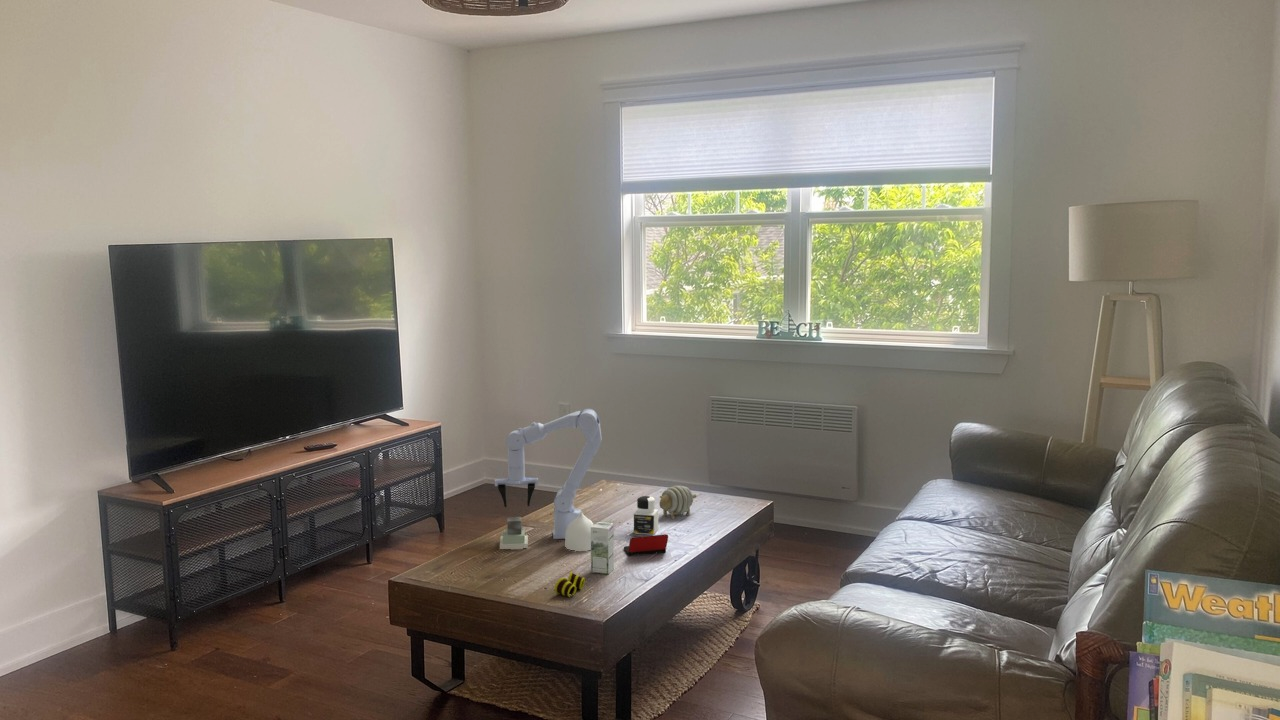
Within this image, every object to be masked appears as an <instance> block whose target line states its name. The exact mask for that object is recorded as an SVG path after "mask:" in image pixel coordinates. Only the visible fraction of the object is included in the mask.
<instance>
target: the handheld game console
mask: <svg viewBox="0 0 1280 720" xmlns="http://www.w3.org/2000/svg"><path fill="white" fill-rule="evenodd" d="M668 541H669V534H666V533H665V534H657V535H656V534H654V535H645V536H633V537H631V538H630V539H629V542H628V544H629V545H626V546H623V551H624V552H625V553H626V554H627V556H628V557H634V556H635V557H636V556H643V555H656V554H657V555H658V554H665V553H666V552H667V545H668Z"/></svg>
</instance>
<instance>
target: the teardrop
mask: <svg viewBox="0 0 1280 720" xmlns="http://www.w3.org/2000/svg"><path fill="white" fill-rule="evenodd" d="M593 524H594V523H593V521H592V519H590V518H587V516H585V514H584V512H583V511H582V510H581V512H580V514H579V516H578V517H577V518H576V519H575V520H573V521H572V522H571V523H570V524H569V526H568V527H567V530H566V534H565V538H564V541H565V542H564V548H565V547H566V548H567V549H570V550H575V551H574V552H576V551H586V552H588V551H587V550H591V526H592V525H593ZM566 548H565V549H566ZM567 549H566V550H567ZM570 550H569V551H570Z"/></svg>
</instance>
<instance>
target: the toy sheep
mask: <svg viewBox="0 0 1280 720" xmlns="http://www.w3.org/2000/svg"><path fill="white" fill-rule="evenodd" d="M659 498H660V499H659V504H658V505H659V507H660V509H662V510H663V512H662V513H663V514H662V515H663V516H664V517H667V514H668V513H669V514H670V518H671V519H672V518H674V519H675V515H676V516H679V515H683V514H685V513H686V516H689V515H690V513H691V509H690V508H691V506H692V505H693V502H694V499H696V498H697V494H695V493H692V490H691V489H689V487H688V486H685V485H684V486H683V485H672V486H671V487H668V488H666V489H665V490H664V491H662V493H661V495H660V496H659Z"/></svg>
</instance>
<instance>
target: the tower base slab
mask: <svg viewBox="0 0 1280 720" xmlns="http://www.w3.org/2000/svg"><path fill="white" fill-rule="evenodd" d="M528 537H529V535H528V534H527V535H526V534H525V543H517V544H503V535H502V536H501V535H500V538H499V550H500V549H511V550H524V549H523V548H528V549H529V538H528Z"/></svg>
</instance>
